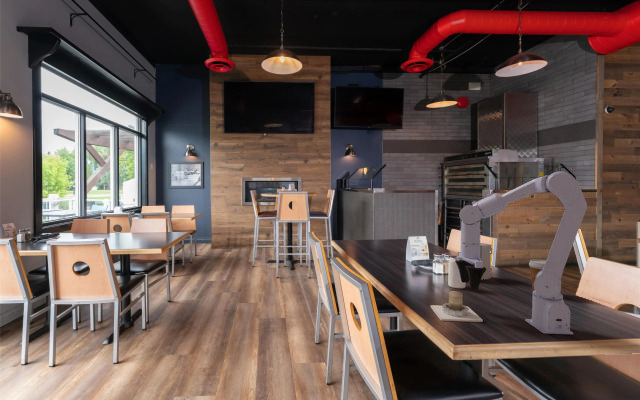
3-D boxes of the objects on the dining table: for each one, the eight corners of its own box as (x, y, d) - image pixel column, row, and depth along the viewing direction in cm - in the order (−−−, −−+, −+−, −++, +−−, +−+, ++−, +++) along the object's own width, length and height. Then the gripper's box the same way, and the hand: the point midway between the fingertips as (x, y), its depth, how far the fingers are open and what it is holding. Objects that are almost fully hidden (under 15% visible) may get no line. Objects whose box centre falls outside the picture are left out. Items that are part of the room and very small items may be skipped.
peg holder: (482, 322, 102) (482, 314, 102) (441, 320, 103) (441, 313, 103) (467, 308, 114) (467, 301, 114) (430, 307, 115) (430, 300, 115)
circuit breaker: (454, 277, 154) (455, 243, 154) (477, 274, 160) (478, 242, 160) (468, 281, 148) (468, 246, 147) (491, 278, 154) (492, 244, 153)
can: (466, 289, 136) (467, 258, 135) (449, 288, 137) (450, 258, 137) (463, 284, 142) (464, 255, 142) (446, 283, 143) (447, 255, 143)
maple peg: (464, 314, 106) (464, 294, 106) (451, 314, 106) (451, 294, 106) (459, 310, 110) (459, 291, 110) (446, 309, 110) (447, 291, 110)
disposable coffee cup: (522, 290, 135) (522, 260, 134) (539, 288, 138) (540, 258, 138) (545, 298, 126) (546, 265, 125) (563, 295, 129) (564, 263, 129)
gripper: (450, 239, 118) (449, 279, 118) (466, 246, 103) (465, 291, 104) (471, 240, 118) (470, 279, 118) (490, 246, 103) (489, 292, 103)
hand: (469, 285), depth 111 cm, fingers open, 7 cm apart
